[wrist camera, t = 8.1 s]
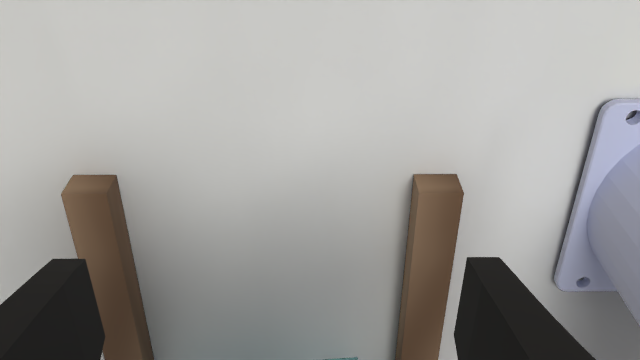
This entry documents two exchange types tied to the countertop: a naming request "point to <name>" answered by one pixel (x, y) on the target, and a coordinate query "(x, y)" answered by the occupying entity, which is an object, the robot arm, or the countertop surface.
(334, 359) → the block
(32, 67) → the countertop surface
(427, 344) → the guide lane
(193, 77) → the countertop surface
